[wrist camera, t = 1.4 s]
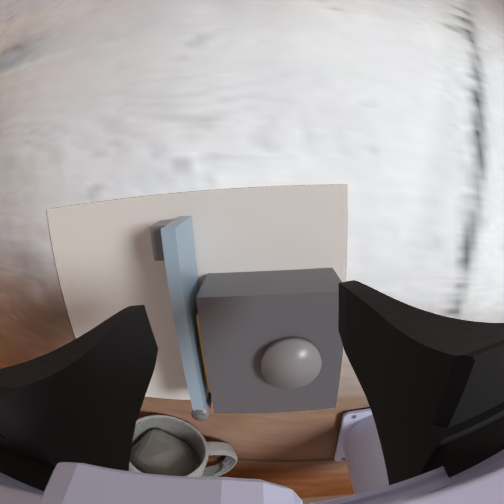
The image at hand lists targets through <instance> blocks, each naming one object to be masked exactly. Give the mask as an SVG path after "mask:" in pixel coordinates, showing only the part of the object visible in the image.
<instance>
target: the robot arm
mask: <svg viewBox="0 0 504 504" xmlns="http://www.w3.org/2000/svg"><path fill="white" fill-rule="evenodd" d="M338 330H339V334H340V337H341V340H342V344H343V347H344V350H345V352H346V355H347V357H348V359H349V361H350V363H351V365H352V367H353V369H354V371H355V374H356V376H357V378H358V380H359V382H360V384H361V386H362V388H363V391H364V393H365V395H366V397H367V400H368V402H369V405H370V408H369V409H362V410H356V411H349V412H346V413H344V414H343V417H342V422H341V427H340V432H339V437H338V442H337V447H336V452H335V456H334V460H335V461H336V462H341V461H347V465H348V469H349V474H350V478H351V482H352V486H353V491H354V495H352V496H347V497H342V498H337V499H332V500H327V501H321V502H315V503H309V504H504V323H484V322H473V321H466V320H460V319H455V318H449V317H445V316H441V315H437V314H433V313H430V312H427V311H424V310H421V309H418V308H415V307H412V306H410V305H407V304H405V303H402V302H400V301H398V300H396V299H393V298H391V297H389V296H387V295H385V294H383V293H381V292H379V291H377V290H375V289H373V288H371V287H369V286H367V285H364V284H362V283H360V282H358V281H355V280H354V281H347V282H341V283H339V321H338ZM157 353H158V346H157V343H156V340H155V337H154V334H153V331H152V328H151V325H150V322H149V319H148V316H147V312H146V309H145V306H144V305H135V306H129V307H126V308H124V309H123V310H121V311H119V312H118V313H116V314H114V315H113V316H111V317H110V318H108V319H107V320H105V321H104V322H102V323H101V324H99V325H97V326H96V327H94V328H93V329H91V330H90V331H88V332H86V333H85V334H83V335H82V336H80V337H78V338H77V339H75V340H73V341H72V342H70V343H68V344H66V345H64V346H62V347H60V348H58V349H56V350H54V351H52V352H50V353H48V354H45V355H43V356H40V357H38V358H35V359H33V360H30V361H27V362H24V363H21V364H18V365H14V366H10V367H7V368H2V369H0V504H303V501H302V500H301V499H300V498H299V497H298V496H297V494H296V493H295V492H294V491H293V490H292V489H290V488H288V487H286V486H282V485H278V484H274V483H271V482H267V481H264V480H261V479H245V478H231V477H189V476H170V475H158V474H147V473H139V472H131V471H129V462H130V455H131V447H132V441H133V436H134V431H135V426H136V421H137V418H138V415H139V412H140V409H141V406H142V403H143V400H144V397H145V395H146V392H147V389H148V386H149V383H150V381H151V378H152V375H153V372H154V369H155V364H156V359H157ZM353 415H354V416H353Z"/></svg>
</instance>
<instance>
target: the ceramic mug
mask: <svg viewBox="0 0 504 504" xmlns="http://www.w3.org/2000/svg"><path fill="white" fill-rule="evenodd" d="M210 455H226V457H225V458H224V460H223V461H222V462H220V463H218V464H215V465H211V466H208V467H205V466H206V464H207V461H208V456H210ZM237 460H238V457H237V455H236V453H235V451H234V449H233V447H232V446H231V445H230V444H228V443H225V442H218V441H206V440H205V438H204V437H203V435H202V434H201V433H200V431H199V430H198V429H197V428H195V427H194V426H193V425H191V424H190V423H188V422H186V421H184V420H182V419H179V418H177V417H173V416H168V415H150V416H145V417H142V418H139V419H137V421H136V426H135V431H134V436H133V441H132V447H131V455H130V462H129V471H131V472H139V473H147V474H158V475H170V476H189V477H217V476H220V475H223V474H225V473H226V472H228V471H230V470H231V469H232V468H233V467H234V466H235V465H236V463H237Z"/></svg>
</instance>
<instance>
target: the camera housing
mask: <svg viewBox="0 0 504 504" xmlns="http://www.w3.org/2000/svg"><path fill="white" fill-rule="evenodd" d="M341 282H342V281H341V280H340V278H339V277H338V275H337V274H336V272H335V271H334V269H333V268H314V269H295V270H275V271H253V272H230V273H207V275H206V277H205V279H204V282H203V284H202V286H201V288H200V290H199V292H198V294H197V296H196V302H197V309H198V313H197V315H196V319H197V326H198V333H199V339H200V345H201V352H202V358H203V364H204V369H205V375H206V381H207V386H208V392H211V396H212V402H213V407H214V412H215V413H274V412H292V411H305V410H317V409H326V408H335V407H336V401H337V394H338V387H339V379H340V371H341V362H342V353H343V344H342V340H341V337H340V334H339V330H338V321H339V283H341Z"/></svg>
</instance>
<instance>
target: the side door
mask: <svg viewBox="0 0 504 504" xmlns="http://www.w3.org/2000/svg"><path fill="white" fill-rule="evenodd" d="M150 235H151V243H152V250H153V257H154V261H163V260H165V267H166V274H167V281H168V287H169V294H170V300H171V306H172V312H173V317H174V323H175V328H176V334H177V339H178V344H179V349H180V354H181V359H182V364H183V369H184V373H185V378H186V382H187V387H188V391H189V395H190V399H191V404H192V408H193V410H192V413H191V414H192V417H193V418H194V419H196V420H198V421H205V420H207V419H208V417H209V412H210V407H211V402H212V396H211V392H208V386H207V381H206V375H205V369H204V364H203V358H202V352H201V345H200V339H199V333H198V326H197V319H196V315H197V313H198V309H197V302H196V296H197V294H198V292H199V290H200V288H199V280H198V271H197V262H196V253H195V244H194V234H193V224H192V216H180V217H178V218H177V219H171V220H160V221H158V222H157V223H155V224H153V225H151V226H150Z"/></svg>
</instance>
